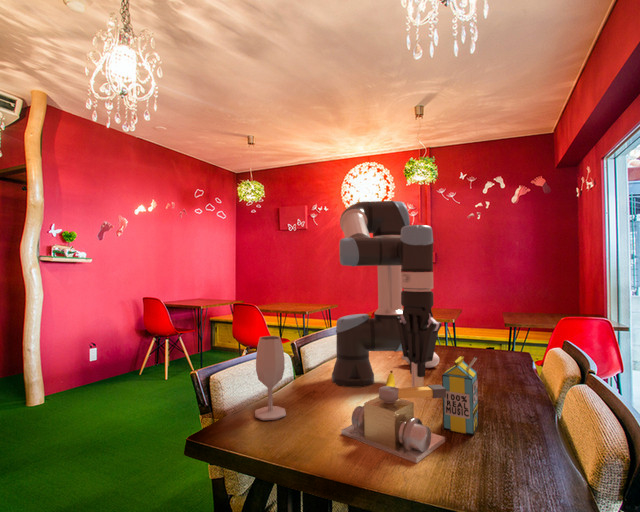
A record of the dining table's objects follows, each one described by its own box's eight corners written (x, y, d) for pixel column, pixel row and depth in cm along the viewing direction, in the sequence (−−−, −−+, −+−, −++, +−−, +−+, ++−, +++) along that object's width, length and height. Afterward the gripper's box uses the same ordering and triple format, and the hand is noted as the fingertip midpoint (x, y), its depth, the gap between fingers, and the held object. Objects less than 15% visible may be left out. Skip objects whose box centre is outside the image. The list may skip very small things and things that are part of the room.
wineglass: (259, 424, 95) (259, 341, 96) (250, 412, 103) (250, 336, 104) (291, 417, 99) (290, 338, 100) (279, 407, 107) (279, 334, 108)
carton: (477, 437, 86) (475, 359, 87) (443, 430, 90) (441, 355, 91) (482, 426, 92) (480, 353, 93) (450, 419, 97) (448, 350, 97)
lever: (382, 401, 82) (382, 392, 82) (376, 395, 86) (376, 386, 86) (447, 398, 84) (447, 389, 84) (438, 392, 88) (438, 383, 88)
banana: (378, 410, 104) (378, 387, 104) (387, 389, 122) (387, 370, 122) (389, 411, 103) (388, 388, 103) (396, 390, 121) (396, 370, 121)
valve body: (341, 434, 89) (340, 393, 89) (372, 418, 98) (372, 381, 98) (416, 463, 75) (415, 414, 75) (445, 441, 84) (444, 398, 85)
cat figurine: (440, 344, 150) (403, 338, 154) (440, 358, 143) (401, 351, 147) (438, 361, 154) (402, 355, 159) (438, 375, 148) (399, 368, 152)
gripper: (387, 289, 92) (387, 384, 91) (425, 292, 81) (426, 400, 80) (409, 288, 96) (410, 380, 95) (449, 291, 85) (450, 394, 84)
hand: (417, 389), depth 88 cm, fingers closed
